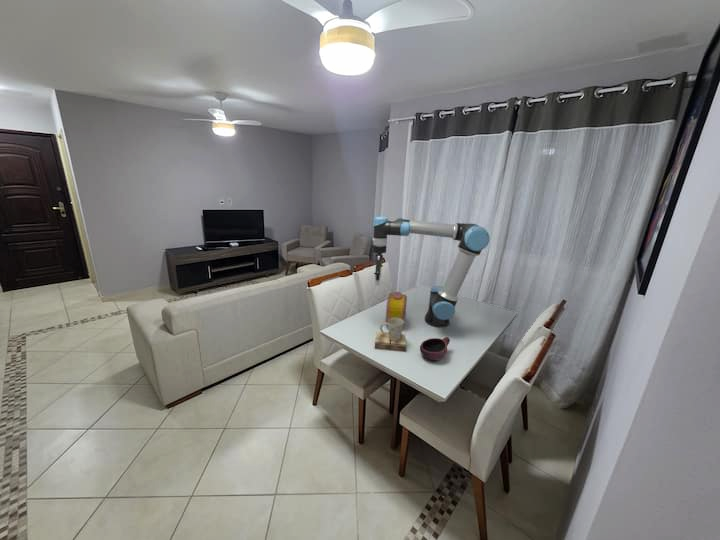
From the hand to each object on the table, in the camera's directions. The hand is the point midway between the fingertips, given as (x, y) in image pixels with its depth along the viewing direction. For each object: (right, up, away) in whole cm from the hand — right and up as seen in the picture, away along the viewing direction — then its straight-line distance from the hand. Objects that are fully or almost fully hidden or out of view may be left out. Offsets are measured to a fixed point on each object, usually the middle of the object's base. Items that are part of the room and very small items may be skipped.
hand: (377, 281), depth 155 cm
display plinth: (+6, -33, -10) cm, 36 cm away
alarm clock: (+12, -27, +12) cm, 32 cm away
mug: (+6, -30, -11) cm, 33 cm away
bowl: (+27, -37, -18) cm, 49 cm away
